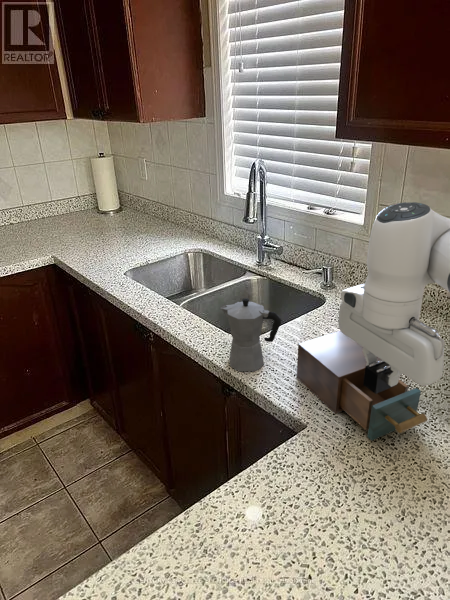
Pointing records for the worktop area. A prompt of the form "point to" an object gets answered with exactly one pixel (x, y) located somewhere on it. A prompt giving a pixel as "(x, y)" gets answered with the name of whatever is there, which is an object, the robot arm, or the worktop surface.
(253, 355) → the coffeepot
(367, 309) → the robot arm
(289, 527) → the worktop surface
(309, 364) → the cabinet
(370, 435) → the drawer
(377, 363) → the clip
